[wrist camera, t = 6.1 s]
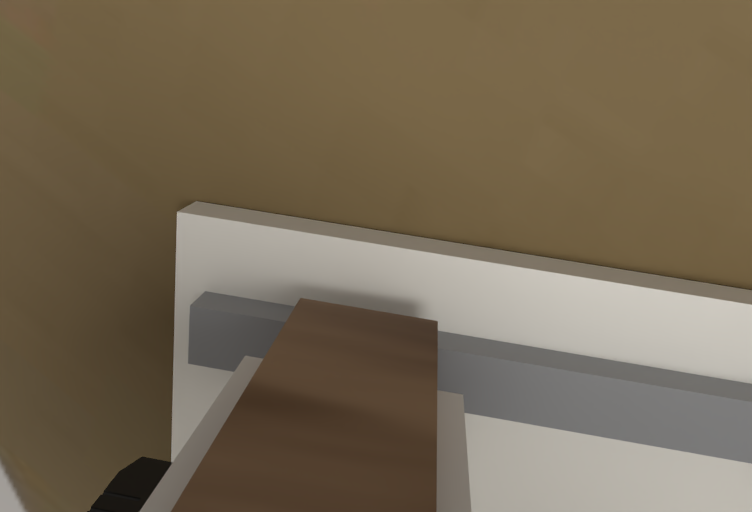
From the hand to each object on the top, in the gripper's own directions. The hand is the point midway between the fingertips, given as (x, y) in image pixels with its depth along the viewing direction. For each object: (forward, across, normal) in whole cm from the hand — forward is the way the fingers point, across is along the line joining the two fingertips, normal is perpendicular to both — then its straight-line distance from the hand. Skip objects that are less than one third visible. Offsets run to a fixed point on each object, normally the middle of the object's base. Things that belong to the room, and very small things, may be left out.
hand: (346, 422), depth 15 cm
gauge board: (+6, -7, +2) cm, 9 cm away
